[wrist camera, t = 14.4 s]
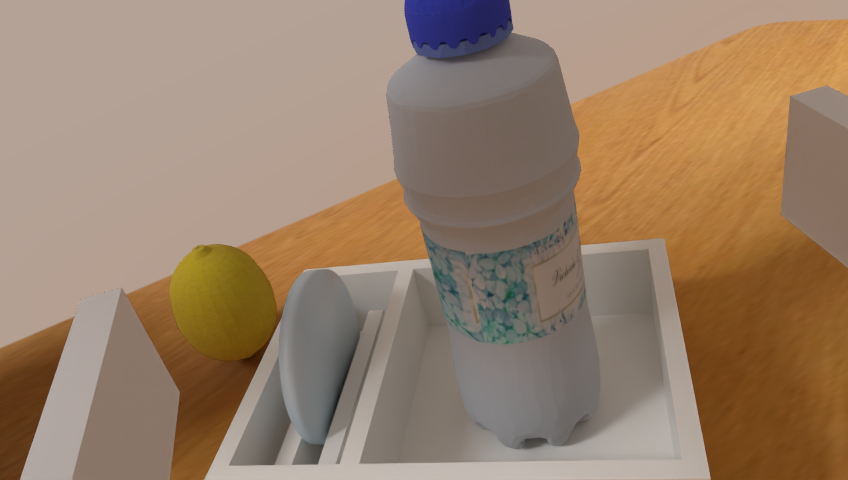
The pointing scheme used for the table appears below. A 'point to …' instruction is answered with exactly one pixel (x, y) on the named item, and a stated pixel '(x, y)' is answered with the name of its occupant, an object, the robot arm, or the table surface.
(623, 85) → the table surface
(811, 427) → the table surface
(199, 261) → the lemon
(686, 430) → the divided tray
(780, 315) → the table surface
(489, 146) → the bottle
